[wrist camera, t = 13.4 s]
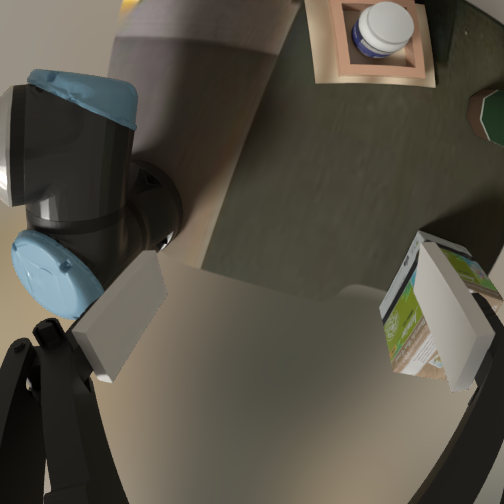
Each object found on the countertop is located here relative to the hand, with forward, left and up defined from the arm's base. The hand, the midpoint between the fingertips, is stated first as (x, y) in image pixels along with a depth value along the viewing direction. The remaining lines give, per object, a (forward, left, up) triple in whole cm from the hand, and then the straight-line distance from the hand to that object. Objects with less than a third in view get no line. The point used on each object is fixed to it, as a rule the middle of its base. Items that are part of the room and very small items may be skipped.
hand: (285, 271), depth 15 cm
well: (+11, +16, -27) cm, 34 cm away
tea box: (+19, -19, -29) cm, 40 cm away
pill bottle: (+11, +16, -28) cm, 34 cm away
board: (+11, +16, -29) cm, 35 cm away
